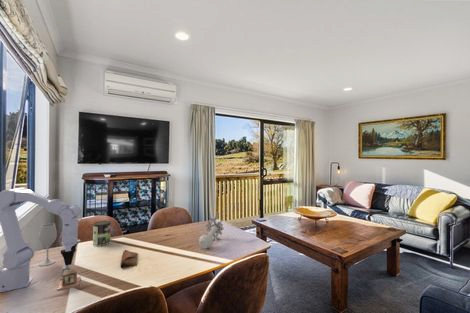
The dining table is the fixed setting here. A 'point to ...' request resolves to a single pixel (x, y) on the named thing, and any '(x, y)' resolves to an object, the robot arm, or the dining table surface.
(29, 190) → the robot arm
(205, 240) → the flower vase
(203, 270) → the dining table surface
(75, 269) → the brown cube
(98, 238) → the coffee can
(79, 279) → the coaster
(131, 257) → the sunglasses case
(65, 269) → the grey block with tabs
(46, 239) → the wineglass
